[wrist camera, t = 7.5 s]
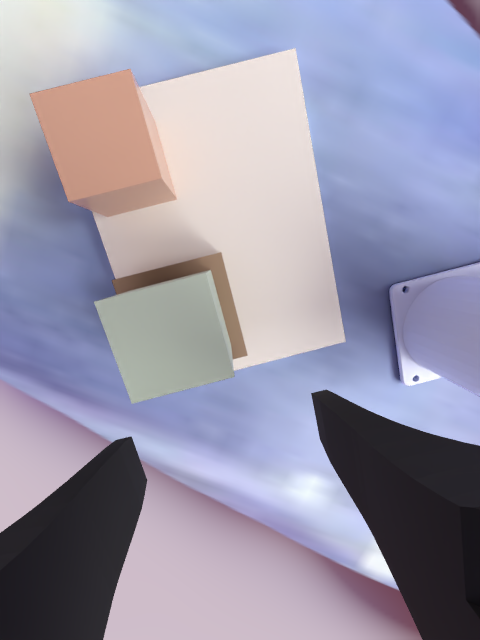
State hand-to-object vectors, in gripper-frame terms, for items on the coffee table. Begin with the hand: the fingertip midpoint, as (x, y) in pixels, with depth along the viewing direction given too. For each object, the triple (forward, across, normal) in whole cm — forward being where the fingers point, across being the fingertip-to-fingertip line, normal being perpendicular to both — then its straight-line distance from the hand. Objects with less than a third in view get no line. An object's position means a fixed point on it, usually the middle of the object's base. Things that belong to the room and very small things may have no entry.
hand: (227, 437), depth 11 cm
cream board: (+10, -1, -8) cm, 13 cm away
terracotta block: (+9, +3, -13) cm, 16 cm away
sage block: (+6, +2, -4) cm, 7 cm away
